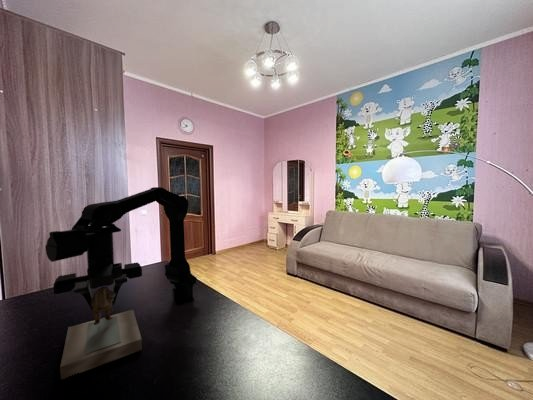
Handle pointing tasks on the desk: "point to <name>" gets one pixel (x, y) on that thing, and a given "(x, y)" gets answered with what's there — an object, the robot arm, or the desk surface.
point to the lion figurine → (102, 303)
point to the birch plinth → (99, 343)
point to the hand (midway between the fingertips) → (103, 307)
